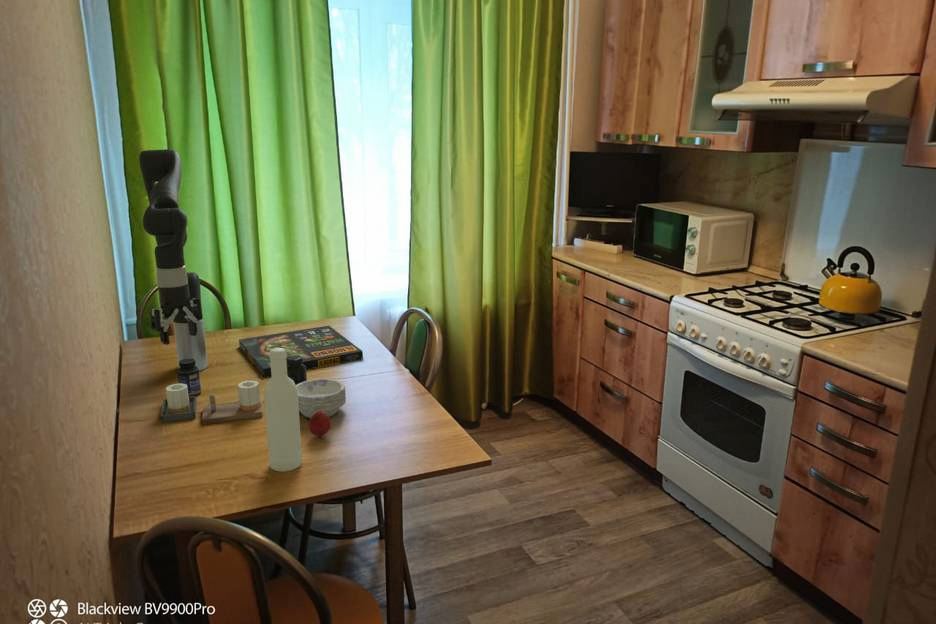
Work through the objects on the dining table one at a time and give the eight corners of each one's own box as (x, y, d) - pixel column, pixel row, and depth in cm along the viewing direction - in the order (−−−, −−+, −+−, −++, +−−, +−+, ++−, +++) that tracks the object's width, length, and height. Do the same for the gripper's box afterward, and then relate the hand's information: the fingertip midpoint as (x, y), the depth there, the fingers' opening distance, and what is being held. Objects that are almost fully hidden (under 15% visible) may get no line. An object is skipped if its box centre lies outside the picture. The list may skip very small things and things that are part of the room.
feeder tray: (164, 406, 196) (163, 399, 195) (196, 402, 199) (196, 395, 198) (161, 422, 185) (160, 416, 185) (195, 418, 188) (194, 412, 188)
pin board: (203, 410, 193) (201, 389, 191) (260, 403, 199) (258, 383, 197) (202, 424, 184) (200, 403, 182) (262, 416, 190) (260, 395, 188)
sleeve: (169, 407, 193) (166, 384, 191) (190, 404, 195) (187, 382, 193) (168, 414, 188) (165, 392, 187) (189, 412, 190) (186, 389, 188)
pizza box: (329, 334, 265) (328, 325, 264) (363, 360, 236) (362, 351, 235) (239, 348, 248) (238, 339, 247) (264, 378, 219) (263, 368, 218)
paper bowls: (327, 397, 203) (326, 373, 201) (356, 412, 193) (355, 387, 191) (283, 411, 193) (281, 386, 191) (311, 428, 183) (309, 402, 180)
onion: (320, 444, 174) (318, 416, 172) (304, 438, 177) (303, 411, 175) (335, 435, 179) (334, 408, 177) (320, 430, 182) (318, 403, 179)
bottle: (305, 456, 168) (298, 344, 159) (299, 472, 160) (290, 355, 152) (273, 456, 167) (264, 344, 159) (265, 472, 160) (255, 355, 151)
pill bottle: (193, 399, 201) (189, 365, 198) (175, 397, 202) (171, 363, 199) (205, 391, 207) (201, 358, 204) (187, 389, 208) (183, 356, 205)
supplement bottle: (312, 393, 206) (310, 357, 203) (293, 400, 201) (290, 363, 198) (299, 387, 210) (297, 352, 207) (281, 393, 206) (278, 357, 202)
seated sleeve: (237, 406, 193) (235, 383, 191) (255, 401, 196) (253, 379, 194) (245, 412, 189) (243, 389, 187) (263, 406, 192) (261, 384, 191)
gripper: (186, 275, 185) (193, 330, 190) (139, 286, 174) (147, 344, 178) (204, 279, 182) (210, 335, 186) (157, 290, 170) (165, 349, 175)
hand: (179, 339), depth 182 cm, fingers open, 8 cm apart
